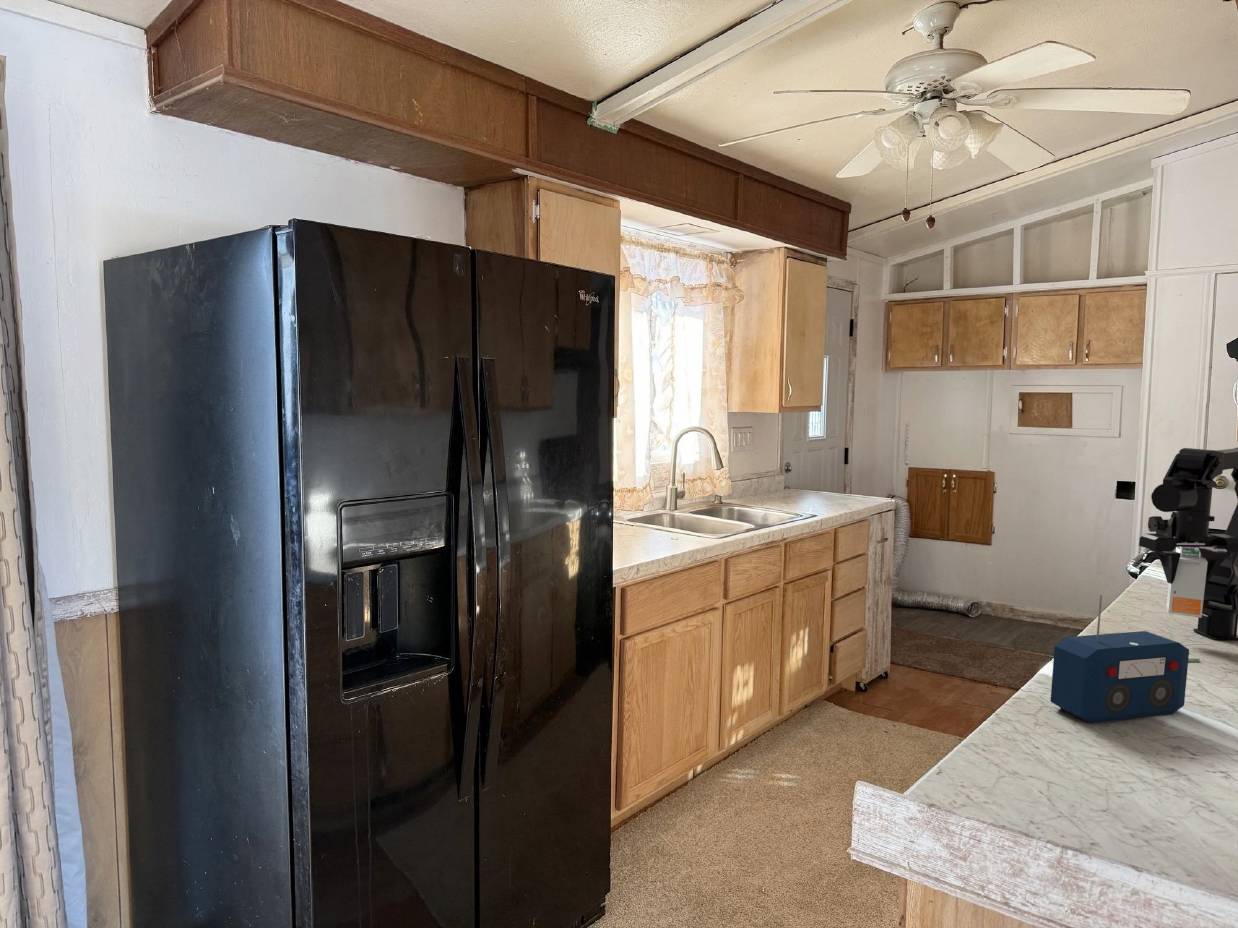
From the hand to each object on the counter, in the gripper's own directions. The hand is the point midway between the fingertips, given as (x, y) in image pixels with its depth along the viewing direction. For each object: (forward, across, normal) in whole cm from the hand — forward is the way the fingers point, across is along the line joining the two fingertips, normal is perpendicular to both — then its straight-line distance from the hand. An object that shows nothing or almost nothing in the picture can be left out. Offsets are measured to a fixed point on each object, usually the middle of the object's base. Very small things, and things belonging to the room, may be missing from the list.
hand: (1186, 583), depth 178 cm
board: (+13, +9, +4) cm, 16 cm away
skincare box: (+7, 0, 0) cm, 7 cm away
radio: (+13, +38, +35) cm, 54 cm away
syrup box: (+13, -38, -48) cm, 63 cm away
